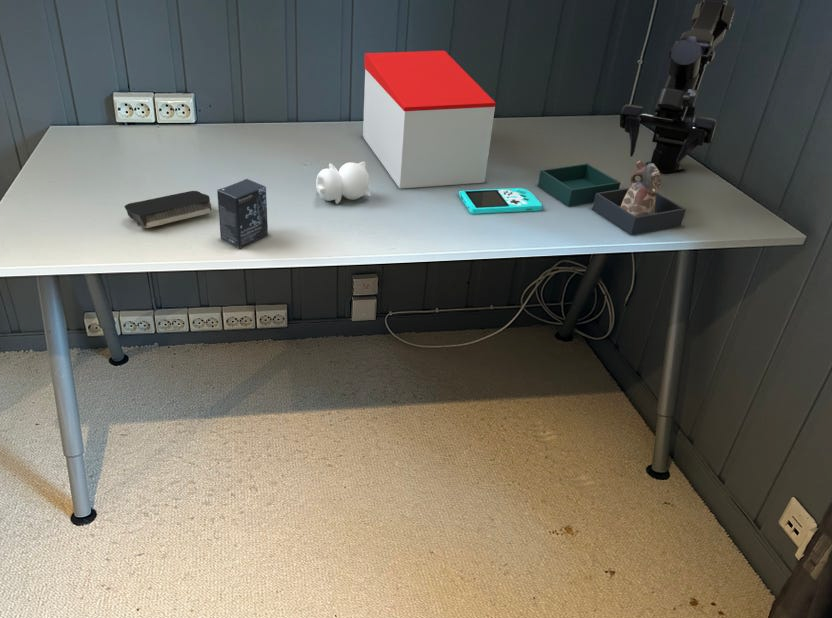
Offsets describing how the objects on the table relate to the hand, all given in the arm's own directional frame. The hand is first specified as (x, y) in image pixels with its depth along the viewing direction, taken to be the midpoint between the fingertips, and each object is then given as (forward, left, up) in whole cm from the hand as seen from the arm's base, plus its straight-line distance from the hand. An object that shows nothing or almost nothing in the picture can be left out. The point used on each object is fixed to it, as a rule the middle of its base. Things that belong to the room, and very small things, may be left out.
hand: (653, 160), depth 153 cm
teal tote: (+7, -13, -11) cm, 19 cm away
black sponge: (+96, -29, -11) cm, 101 cm away
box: (+84, -15, -11) cm, 87 cm away
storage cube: (+32, -43, -11) cm, 55 cm away
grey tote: (+3, +3, -11) cm, 12 cm away
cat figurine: (+59, -27, -11) cm, 66 cm away
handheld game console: (+27, -13, -11) cm, 33 cm away
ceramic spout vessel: (+3, +3, -11) cm, 12 cm away
